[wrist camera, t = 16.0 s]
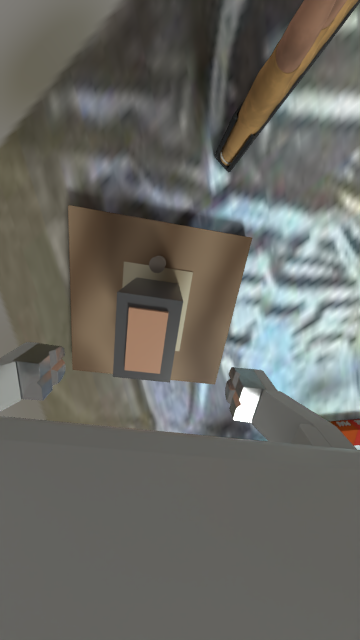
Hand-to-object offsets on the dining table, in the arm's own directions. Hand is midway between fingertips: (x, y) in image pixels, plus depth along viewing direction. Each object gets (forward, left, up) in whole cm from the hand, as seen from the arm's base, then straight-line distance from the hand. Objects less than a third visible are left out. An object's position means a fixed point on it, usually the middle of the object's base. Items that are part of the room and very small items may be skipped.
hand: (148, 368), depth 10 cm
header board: (+1, 0, -12) cm, 12 cm away
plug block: (+1, 0, -10) cm, 10 cm away
